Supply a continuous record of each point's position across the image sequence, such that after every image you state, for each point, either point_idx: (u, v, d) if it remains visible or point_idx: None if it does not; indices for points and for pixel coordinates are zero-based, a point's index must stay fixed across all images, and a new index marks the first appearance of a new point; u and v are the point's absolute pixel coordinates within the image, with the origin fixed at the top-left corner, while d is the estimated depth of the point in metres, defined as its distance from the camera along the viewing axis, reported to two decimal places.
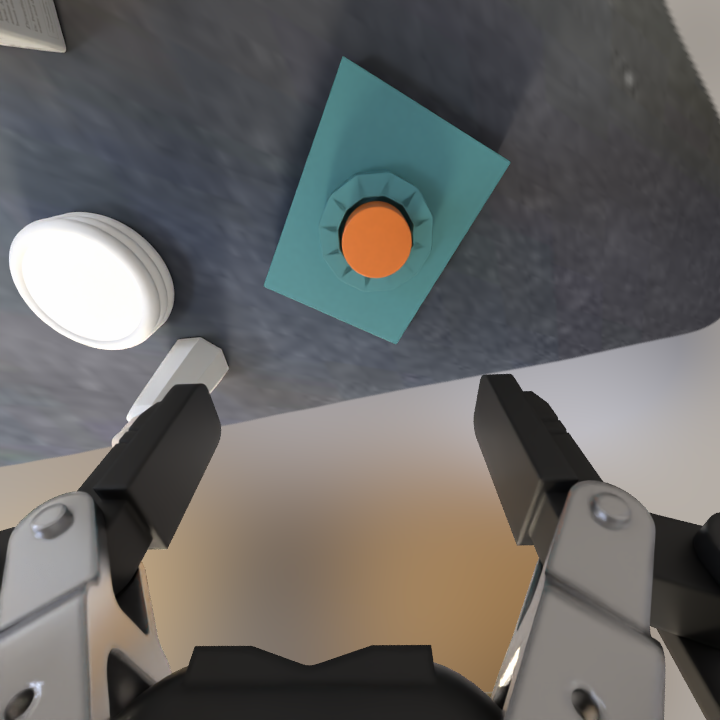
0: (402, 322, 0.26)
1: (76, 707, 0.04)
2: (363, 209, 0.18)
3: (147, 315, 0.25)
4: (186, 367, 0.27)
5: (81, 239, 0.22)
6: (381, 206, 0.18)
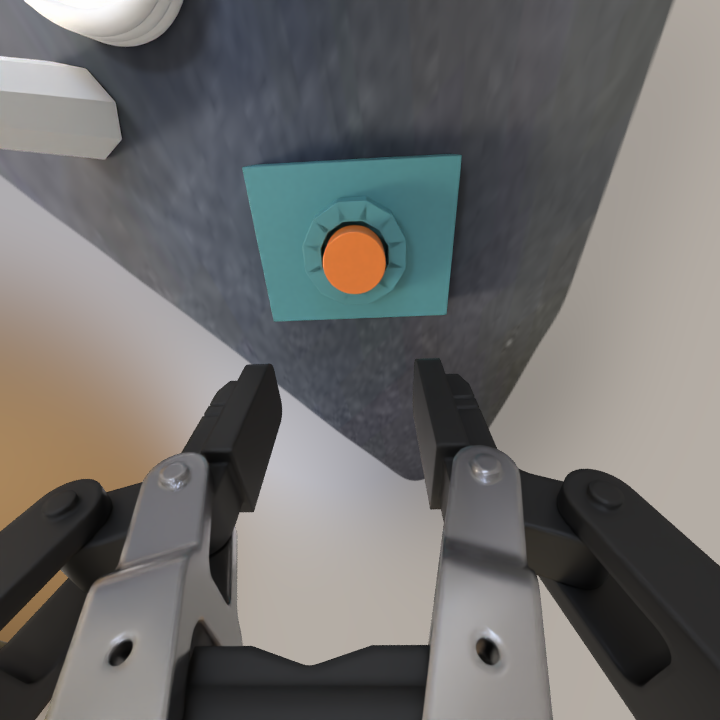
0: (296, 314, 0.27)
1: (160, 679, 0.04)
2: (374, 238, 0.21)
3: (98, 18, 0.18)
4: (70, 108, 0.19)
5: None
6: (383, 251, 0.21)
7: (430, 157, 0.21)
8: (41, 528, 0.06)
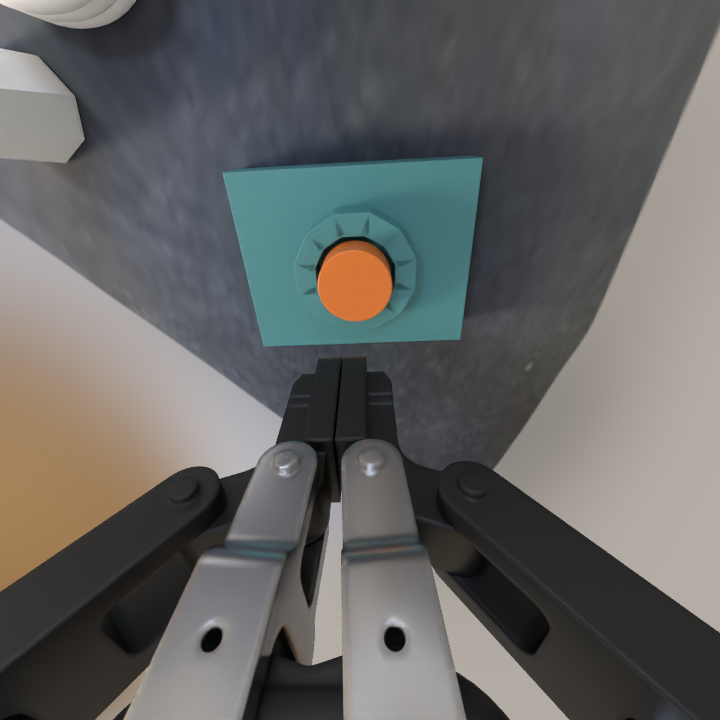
0: (288, 339, 0.24)
1: (238, 690, 0.04)
2: (378, 258, 0.17)
3: None
4: (12, 102, 0.16)
5: None
6: (389, 273, 0.18)
7: (445, 160, 0.18)
8: (164, 511, 0.06)
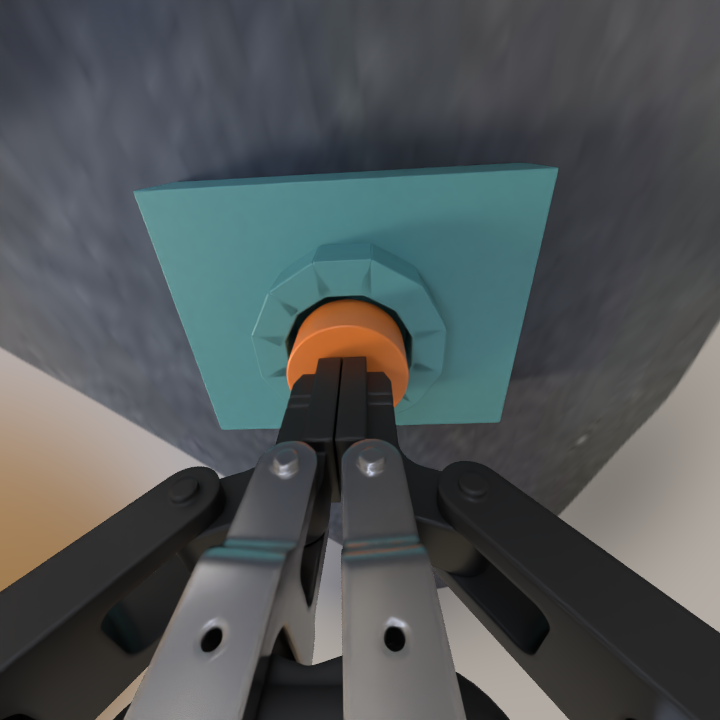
0: (256, 421, 0.17)
1: (238, 689, 0.04)
2: (387, 337, 0.10)
3: None
4: None
5: None
6: (404, 358, 0.11)
7: (496, 172, 0.11)
8: (164, 511, 0.06)
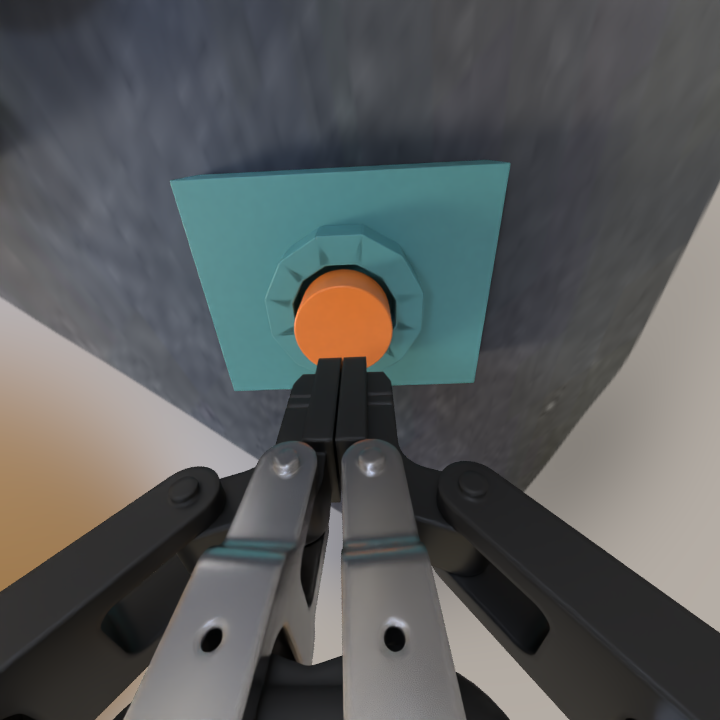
0: (264, 382, 0.20)
1: (238, 689, 0.04)
2: (374, 295, 0.13)
3: None
4: None
5: None
6: (389, 314, 0.13)
7: (461, 166, 0.14)
8: (164, 511, 0.06)
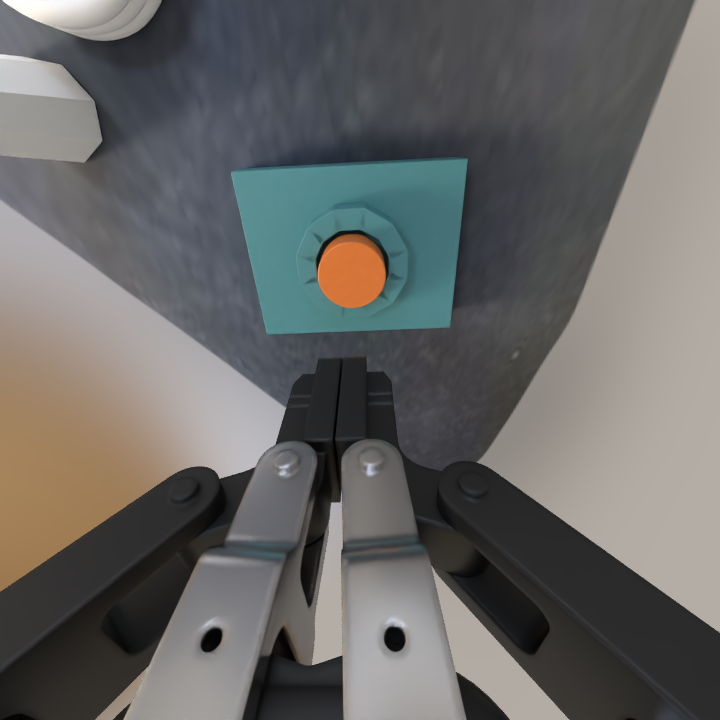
0: (290, 327, 0.26)
1: (238, 689, 0.04)
2: (373, 249, 0.19)
3: (69, 9, 0.16)
4: (41, 107, 0.18)
5: None
6: (383, 263, 0.20)
7: (434, 161, 0.20)
8: (164, 511, 0.06)
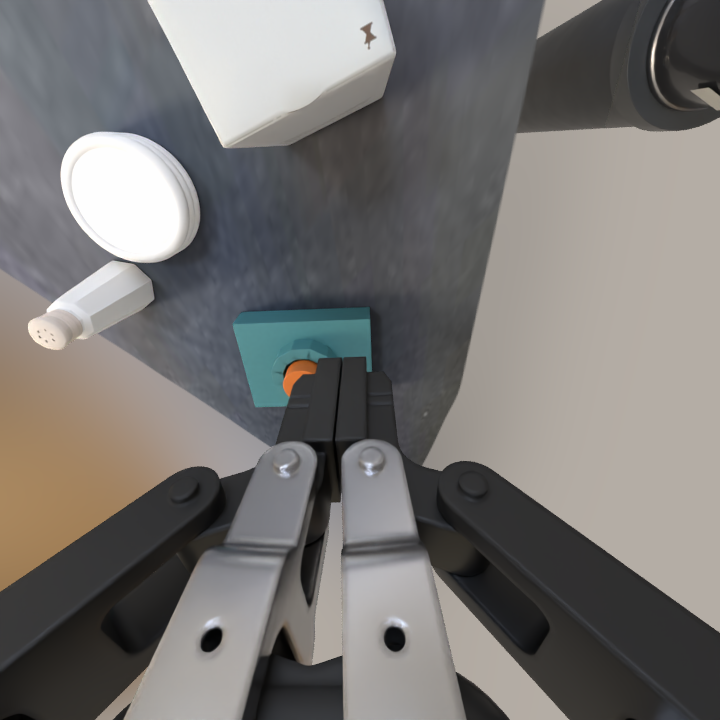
0: (270, 403, 0.40)
1: (238, 689, 0.04)
2: (314, 373, 0.33)
3: (147, 258, 0.30)
4: (127, 299, 0.32)
5: (171, 198, 0.28)
6: None
7: (350, 319, 0.34)
8: (164, 510, 0.06)
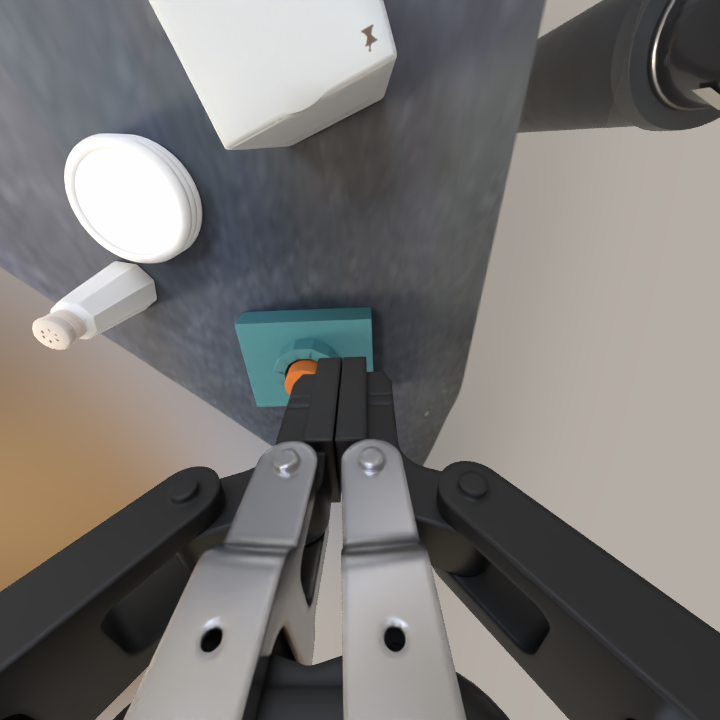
0: (272, 402, 0.40)
1: (238, 690, 0.04)
2: None
3: (149, 258, 0.31)
4: (130, 300, 0.32)
5: (173, 199, 0.28)
6: None
7: (352, 319, 0.34)
8: (164, 510, 0.06)
